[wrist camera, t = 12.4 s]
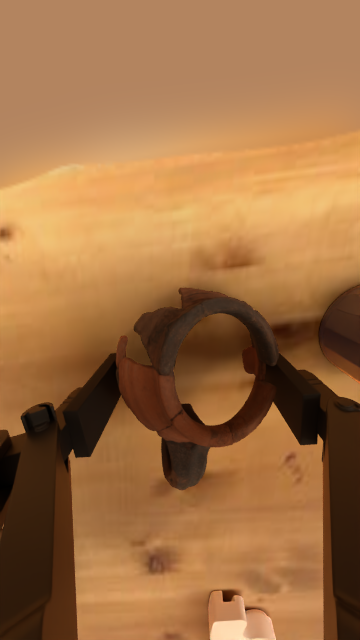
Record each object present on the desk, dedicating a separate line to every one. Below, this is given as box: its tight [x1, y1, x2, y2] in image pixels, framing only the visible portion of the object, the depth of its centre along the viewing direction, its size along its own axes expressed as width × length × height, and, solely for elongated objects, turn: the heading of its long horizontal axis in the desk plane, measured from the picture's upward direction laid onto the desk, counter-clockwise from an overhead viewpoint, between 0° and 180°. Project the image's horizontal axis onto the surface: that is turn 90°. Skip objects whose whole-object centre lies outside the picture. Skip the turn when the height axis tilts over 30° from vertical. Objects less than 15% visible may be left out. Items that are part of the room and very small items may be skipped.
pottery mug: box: [116, 288, 279, 490], centre depth 14 cm, size 12×10×8 cm
